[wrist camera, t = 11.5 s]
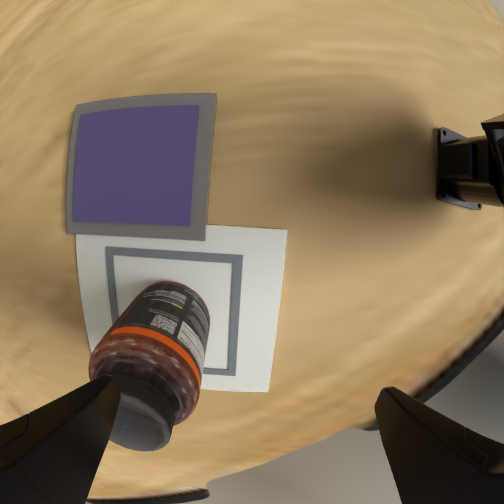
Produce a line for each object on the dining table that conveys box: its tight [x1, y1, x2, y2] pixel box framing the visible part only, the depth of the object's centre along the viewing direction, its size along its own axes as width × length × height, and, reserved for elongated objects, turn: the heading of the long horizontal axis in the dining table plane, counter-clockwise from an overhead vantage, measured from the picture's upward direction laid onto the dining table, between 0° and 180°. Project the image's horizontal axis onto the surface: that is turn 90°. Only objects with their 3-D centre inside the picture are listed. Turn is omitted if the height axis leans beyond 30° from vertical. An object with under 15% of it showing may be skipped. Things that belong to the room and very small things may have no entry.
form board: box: [76, 224, 288, 392], centre depth 20 cm, size 16×14×1 cm
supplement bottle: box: [89, 281, 210, 451], centre depth 14 cm, size 6×6×11 cm
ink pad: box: [66, 93, 217, 241], centre depth 17 cm, size 11×10×1 cm
